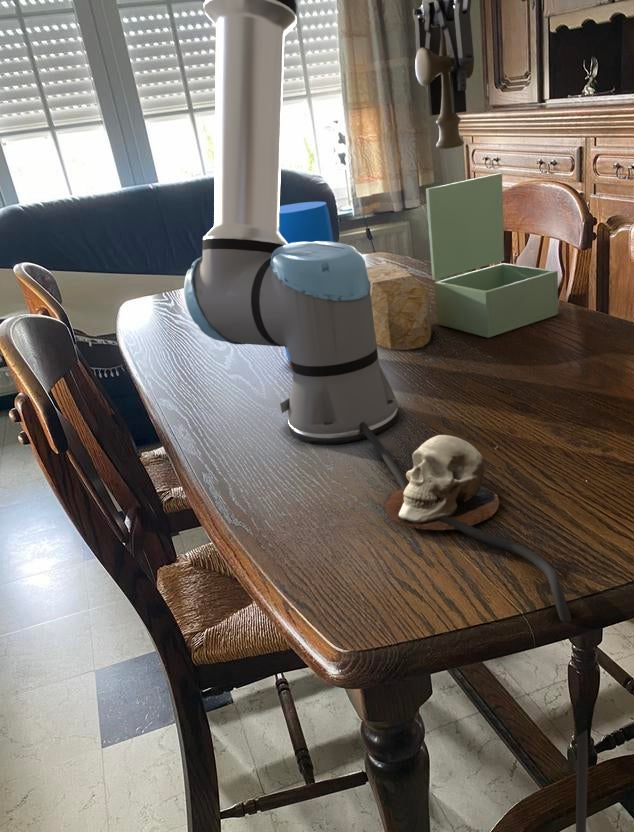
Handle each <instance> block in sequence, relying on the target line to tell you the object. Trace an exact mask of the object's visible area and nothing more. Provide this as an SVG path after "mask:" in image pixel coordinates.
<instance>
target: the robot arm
mask: <svg viewBox="0 0 634 832" xmlns="http://www.w3.org/2000/svg"><path fill="white" fill-rule="evenodd" d="M201 1H202V3H203V12H204V14H205V15H206V17H207V18H208V19H209V21H211V22H212V24H213V25H214V26H215V91H214V92H215V93H214V94H215V96H214V97H215V98H214V99H215V100H214V105H215V107H214V205H213V206H214V212H213V213H214V215H213V217H214V218H213V219H214V220H213V222H214V223H213V227H212V228H211V229H210V230H209V231H208V232H207V233H206V234H205V235H204V236H203V237H202V256H200V257H199V258H197V259H195V261H193V262H192V263H191V266H190V268H188V270H187V271H186V273H185V277H184V283H183V284H184V285H183V293H184V301H185V305H186V308H187V311H188V313H189V315H190V317H191V319H192V321H193V322H194V323H195V324H196V325H197V327H198V328H199V330H200V331H201V332H202V333H203V334H204V335H206V336H208V337H209V338H211V339H213V340H216V341H219V342H226V343H229V344H232V345H241V346H242V345H254V346H267V347H281V348H282V347H284V348H285V347H288V352H289V357H290V362H291V367H292V369H291V372H292V380H291V385H290V386H291V387H290V395H289V397H288V399H286V400H284V401H282V402H280V403H279V405H280V410H281V414H284V413H285V412H287V423H288V428H289V432H290V434H291V435H292V436H293V437H294V438H296V439H298V440H299V441H300V440H301V441H302V442H307V443H311V444H320V445H321V444H323V445H325V444H326V445H327V444H328V445H329V444H332V445H333V444H343V443H350V442H356V441H360V440H364V439H366V438H367V439H368V440H369V443H371V444H372V447H374V448H375V450H376V451H377V452H378V454H379V456H380V457H381V459H382V460H383V461H384V463H385V464H386V466H387V467H388V469H389V471H390V472H391V473H392V476H393V477H394V478H395V480H396V481H397V483H398V485H399V487H400V488H401V489H402V490H403V492H404V490H405V488H406V487H407V486H408V484H409V481H408V480H407V478H406V476H405V475H404V474H403V472H402V471H401V470H400V468H399V467H398V465H397V464H396V462H395V460H393V458H392V456H391V455H390V453H389V452H388V451H387V449H386V448H385V446H384V445H383V444H382V442H381V441H380V440H379V438H378V437H377V436H376V435H378V434H380V433H382V432H384V431H386V430H387V429H389V428H390V427H392V426H393V425H394V424H395V423H397V421H398V419H399V417H400V416H399V415H400V413H399V405H398V401H397V398H396V395H395V393H394V391H393V389H392V387H391V385H390V382H389V381H388V378H387V376H386V374H385V371H384V369H383V368H382V366H381V363H380V361H379V360H380V359H379V353H378V344H376V335H375V327H374V319H373V311H372V303H371V295H370V290H371V285H370V281H369V278H368V275H367V270H366V267H367V266H366V261H365V258H364V256H363V254H362V253H361V252H360V251H359V250H358V249H357V248H355V247H354V246H352V245H348V244H346V243H341V242H336V241H333V242H328V241H315V242H297V243H291V244H288V243H287V241H286V240H285V239H284V238H283V237H282V236H281V234H280V232H279V207H280V206H281V205H280V203H281V202H280V201H281V168H282V167H281V166H282V165H281V164H282V128H283V93H284V92H283V91H284V89H283V87H284V86H283V85H284V59H285V58H284V55H285V37H286V36H287V34H288V33H289V32H290V31H291V30H293V28H294V27H295V26H296V25H297V21H298V20H297V19H298V18H297V17H298V15H297V13H298V0H201ZM471 5H472V0H422V2H421V6H420V7H418V8H413V9H412V17H413V22H414V28H415V29H414V30H415V50H416V51H415V52H416V53H415V54H417V52H418V50H419V49H420V48H421V47H424V48H427V49H429V50H430V51H432V52H433V53H434V54H436V55H438V56H440V53H441V29H443V30H444V34H445V38H446V47H447V52H448V55H450V59H451V63H452V67H451V68H449V69H450V71H452V72H450V73H449V76H450V86H451V102H452V114H453V113H457V114H459V113H467V99H466V97H467V96H466V95H467V93H466V91H467V87H468V86H467V79H466V69H467V66H469V65H470V64H473V62H474V63H475V55H474V43H473V31H472V21H471V7H472V6H471ZM465 55H467V56H465ZM458 60H459V61H458ZM426 92H427V98H428V111H429V116H430V117H431V116H432V117H433V116H438V115H439V116H440V111H441V97H442V74H439V75H438V76H437V77H436V78H435V79H434V80H433V81H432V82H431V83H430V84H428V85H427V86H426ZM439 521H441V522H444V523H446V524H448V525H451V526H454V527H456V528H457V529H455V530H454V531H458V532H460V533H463V534H465V535H467V536H469V537H471V538H474V539H475V540H478V541H480V542H482V543H485V544H488V545H489V546H494V547H496V548H499V549H502V550H504V551H508V552H510V553H513V554H515V555H517V556H520V557H521V558H523V559H525V560H527V561H529V562H530V563H532V564H533V565H534V566H535V567H537V568H538V569H539V570H540V571H541V572H542V573H543V574H544V576H545V577H546V579H547V582H548V584H549V588H550V591H551V594H552V598H553V602H554V604H555V608H556V611H557V614H558V618H559V620H560V621H562V622H563V623H570V622H571V621H572V616H571V612H570V609H569V607H568V604H567V600H566V597H565V594H564V590H563V586H562V583H561V579H560V576H559V574H558V572H557V571H556V570H555V568H554V567H553V566H552V565H551V564H550V563H548V561H546V560H545V559H544V558H543V557H541V556H540V555H539V554H537V553H536V552H535V551H533V550H531V549H529V548H527V547H525V546H523V545H522V544H519V543H516V542H513V541H511V540H508V539H505V538H502V537H500V536H497V535H494V534H490V533H488V532H486V531H483V530H480V529H478V528H476V527H474V526H469V525H467V524H465V523H462V522H460V521H457V520H455V519H452V518H450V517H448V516H445V515H443V516H441V517H440V518H439ZM588 744H589V743H588V729H586V730H584V731H582V732H581V733H580V734H578V736H576V791H575V792H576V793H575V796H576V799H575V832H587V805H588V803H587V802H588V773H589V772H588V764H589V761H588V760H589V758H588V757H589V750H588V749H589V748H588V747H589V746H588Z"/></svg>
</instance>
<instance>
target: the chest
mask: <svg viewBox="0 0 634 832" xmlns="http://www.w3.org/2000/svg"><path fill="white" fill-rule="evenodd" d="M558 272H559V271H558V270H553V269H547V268H540V267H533V266H526V265H521V264H520V265H519V264H514V263H505V262H500V263H498V264H494V265H490V266H488V267H487V266H486V267H482V268H480V269H477V270H473V271H470V272H469V271H468V272H466V273H461V274H459V275H458V274H457V275H454V276H450V277H447V278H443V279H441V280H438V281H437V280H436V281H434V282H433V286H434V287H433V289H434V299H435V311H436V320H437V321H436V322H437V325H439V326H443V327H447V328H449V329H453V330H457V331H461V332H464V333H467V334H468V333H469V334H473V335H477V336H480V337H482V338H483V337H484V338H487V339H489V338H492V337H494V336H497V335H501V334H504V333H506V332H507V333H508V332H510V331H512V330H513V331H514V330H515V329H519V328H521V327H526V326H529V325H531V324H534V323H537V322H539V321H543V320H546V319H549V318H552V317H555V316H557V315H559V284H558V283H559V281H558V280H559V273H558Z"/></svg>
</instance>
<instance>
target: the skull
mask: <svg viewBox="0 0 634 832" xmlns="http://www.w3.org/2000/svg"><path fill="white" fill-rule="evenodd" d="M411 457H412V463H413V468H412V469H409V470H408V471H407V472H406V473H405V479H406V480H407V482H408V486H407V487H406V488H405V490H404V492H403V490H402V489H401V487H400V488H399V489H397V490H395V491H393V492H392V493H391V494H390V495H389V496H388V497H387V499H386V501H385V503H384V509H385V512H386V513H387V515H388V516H389V517H390V518H391V519H392V520H393V521H395V522H397V523H399V524H400V525H402V526H405V527H407V528H411V529H419V530H430V531H445V530H447V531H449V530H453V531H456V530H455V529H457V528H456V527H454V526H451V525H448V524H446V523H444V522H441V521H439V518H440V517H441V516H443V515H445V516H448V517H450V518H452V519H455V520H457V521H460V522H462V523H465V524H467V525H469V526H471V527H473V526H475V525H477V524H480V523H482V522H483V523H484V521H486V520H488V519H490V518H491V517H493V515H494V514H495V513H496V512H497V511H498V509H499V506H500V499H499V496H498V495H497V493H496V492H494V491H493V490H491V489H490V488H489V487H488V488H487V486H485V485H483V480H484V475H485V465H484V460H483V459H484V458H483V454H481V453H480V452H479V450H478V449H477V448H476V447H475V446H474V445H472V444H470V443H469V442H468V441H466V440H464V439H462V438H459V437H456V436H453V435H448V434H438V435H435V436H432V437H430V438H429V439H427V440H426V441H424V442H423V443H422V444H421V445H419V447H417V448H416V450H414V452H413V453H412V456H411Z"/></svg>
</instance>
